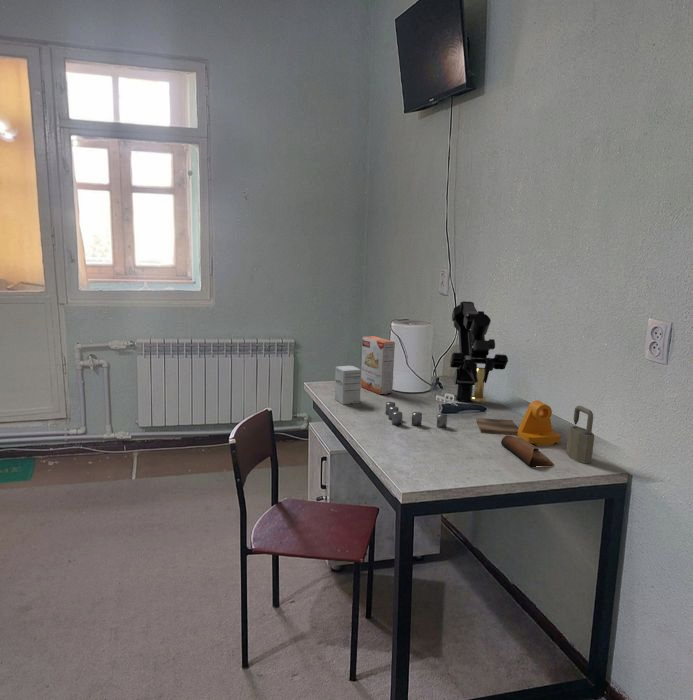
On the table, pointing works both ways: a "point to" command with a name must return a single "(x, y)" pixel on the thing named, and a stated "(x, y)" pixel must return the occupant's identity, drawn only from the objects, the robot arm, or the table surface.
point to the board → (497, 426)
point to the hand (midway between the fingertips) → (480, 382)
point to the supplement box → (347, 384)
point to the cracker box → (377, 364)
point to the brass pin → (479, 386)
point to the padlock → (581, 438)
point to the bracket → (538, 425)
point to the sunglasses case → (526, 451)
